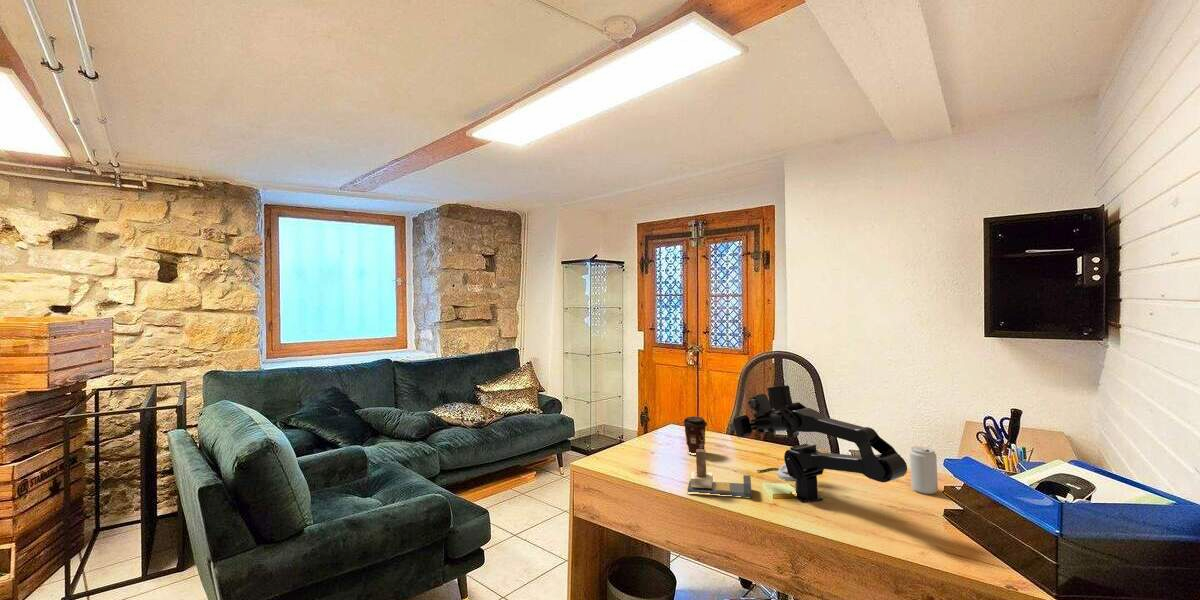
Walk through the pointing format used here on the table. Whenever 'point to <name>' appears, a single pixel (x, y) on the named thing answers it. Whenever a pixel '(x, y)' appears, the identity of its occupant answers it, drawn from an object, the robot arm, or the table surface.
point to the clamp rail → (726, 488)
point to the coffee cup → (695, 433)
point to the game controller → (781, 472)
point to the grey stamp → (701, 472)
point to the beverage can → (923, 470)
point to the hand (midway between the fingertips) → (740, 424)
